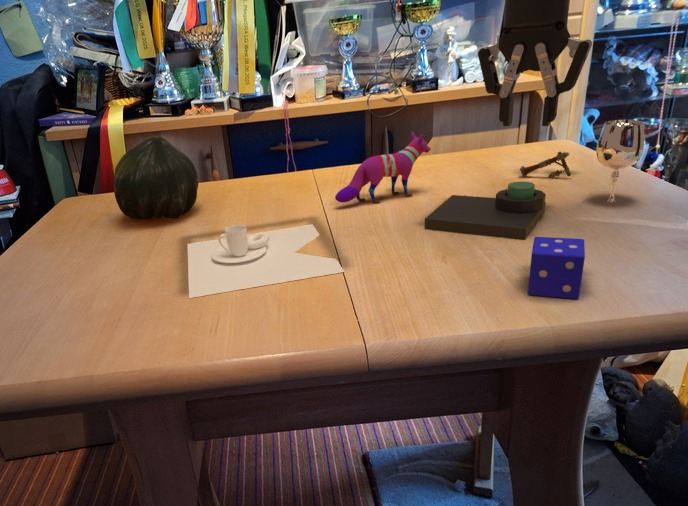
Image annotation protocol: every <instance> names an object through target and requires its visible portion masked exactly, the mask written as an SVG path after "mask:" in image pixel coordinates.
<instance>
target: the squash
mask: <svg viewBox="0 0 688 506" xmlns="http://www.w3.org/2000/svg"><path fill="white" fill-rule="evenodd" d="M112 184H113V185H112V186H113V187H112V188H113V192H114V193H113V194H114V198H115V201H116V204H117V206H118V208H119V210H120V212H121V213H122V214H123V215H124V216H125V217H127V218H129V219H131V220H134V221H143V220H145V221H146V220H147V221H149V220H152V219H156V220H161V219H162V218H165V219H166V220H176V219H179V218H180V217H181V216H185V215H186V214H188V213H189V212H190V211H191V210H192V209H193V207H194V205H195V204H196V202H197V198H198V189H199V176H198V171H197V169H196V166H195V165H194V163H193V161H192V160H191V158H190V157H189V156H187V155H186V154H185V153H184V152H182V151H181V150H180V149H179V148H177V147H176V146H175V145H173V144H172V143H171V142H170V141H168V139H167V140H166V139H165V138H163V137H162V136H153V137H149V138H148V139H146V140H143V141H142V142H140V143H139V144H137V145H136V146H134V147H132V148H131V149H129V150H128V151H126V152H125V153H124V154H123V156H121V158H120V159H119V160H118V161H117V164H116V166H115V168H114V174H113V179H112Z"/></svg>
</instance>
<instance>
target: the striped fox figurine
mask: <svg viewBox="0 0 688 506" xmlns="http://www.w3.org/2000/svg"><path fill="white" fill-rule="evenodd" d="M423 135H424V134H420V135H419V137H418V136H417V135H416V134H415V133H414V131H411V132H410V136H411V137H410V138H411V141H410V142H409V144H408V145H407V146H406V147H405V148H404V149H401V150H399V151H397V152H396V153H394V152H393V153H387V154H379V155H373V156H370V157H368V158H366V159H365V160H363V161H362V162H361V164H360V165H359V166H358V167H357V168H356V170H355V172H354V174H353V176H352V178H351V180H350V182H349V184H348V185H346V186H345V187H343V188H341V189H339V191H337V193H336V194H335V196H334V199H335V201H337V202H339V203H348V202H351V201H353V200H354V199H355V198H356V200H357V201H358V202H360V203H361V202H362V203H364V202H367V199H366V198H365V197H363V198H361V196H360V194H361V191H362V189H363V187H365V186H366V185H367V184H370V185H369V188H368V193H369V196H370V199H371V201H372V203H373V204H380V203H381V200H380V199H376V196H375V190H376V189H377V187H378V186H379V185H380V183H381V182H382V180H383V178H390V180H391V194H392V195H394V196H397V195H399V194H400V192H399V191H397V190H396V191H395V187H396V183H397V180H398V177H399V176H401V179H400V180H401V184H402V188H403V193H404V196H405V197H406V198H412V197H413V193H408V181H409V177H410V175H411V172H412V171H413V167H414V165H415V163H416V161H417V160H418V159H419V157H420V156H421V155H422V154H423V153H430V151H431V150H432V148H431V147H430V146H428V142H427V141H426V140H425V139H424V137H423Z"/></svg>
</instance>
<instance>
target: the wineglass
mask: <svg viewBox="0 0 688 506" xmlns="http://www.w3.org/2000/svg"><path fill="white" fill-rule="evenodd" d="M645 138H646V137H645V125H644V121H642V120H637V119H636V120H635V119H615V120H614V119H613V120H608V121H605V122H604V124H603V126H602V129H601V131H600V134H599V137H598V140H597V144H596V149H595V150H596V151H595V152H596V158H597V159H596V160H597V161H598V163H600V165H602V166H603V167H606V168H608V169H612V170H613V171H612V173H611V175H610V180H611V189H610V195H609V197H608V199H607V200H606V202H608V203H615V202H616V199H615V191H616V186H617V183H618V181H619V179H620V171H619V170H623V169H627V168H629V167H632V166H633V165H635V164H637V163H638V161H640V159H641V157H642V156H643V154H644V153H643V152H644V149H645V142H646V141H645V140H646V139H645Z"/></svg>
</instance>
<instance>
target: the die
mask: <svg viewBox="0 0 688 506" xmlns="http://www.w3.org/2000/svg"><path fill="white" fill-rule="evenodd" d="M585 247H586V246H585V239H584V238H573V237H572V238H571V237H553V236H551V237H549V236H534V238H533V243H532V250H531V256H530V265H529V266H530V267H529V277H528V278H529V279H528V287H527V294H528V295H529V296H536V297H537V296H538V297H548V298H558V299H571V300H578V299H580V294H581V287H582V280H583V278H582V277H583V272H584V266H585V259H586V253H585V252H586V250H585Z"/></svg>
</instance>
